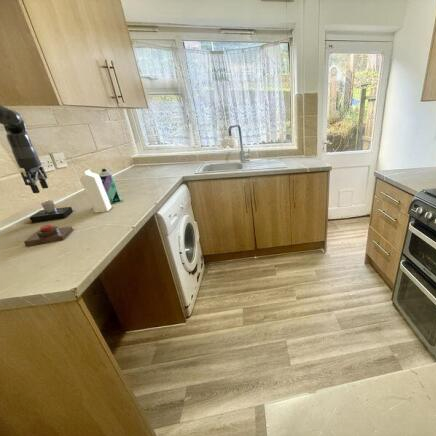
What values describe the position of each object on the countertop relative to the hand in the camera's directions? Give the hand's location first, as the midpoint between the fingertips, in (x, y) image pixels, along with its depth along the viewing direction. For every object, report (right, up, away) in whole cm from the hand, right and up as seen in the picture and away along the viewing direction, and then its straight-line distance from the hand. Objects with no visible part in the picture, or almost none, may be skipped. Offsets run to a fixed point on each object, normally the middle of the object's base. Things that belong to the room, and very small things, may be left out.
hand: (41, 190), depth 118 cm
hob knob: (0, -10, +5) cm, 11 cm away
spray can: (+19, -4, +25) cm, 31 cm away
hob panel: (0, -13, +6) cm, 14 cm away
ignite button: (+20, -19, -17) cm, 32 cm away
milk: (+21, -10, +13) cm, 26 cm away
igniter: (+20, -22, -15) cm, 33 cm away
